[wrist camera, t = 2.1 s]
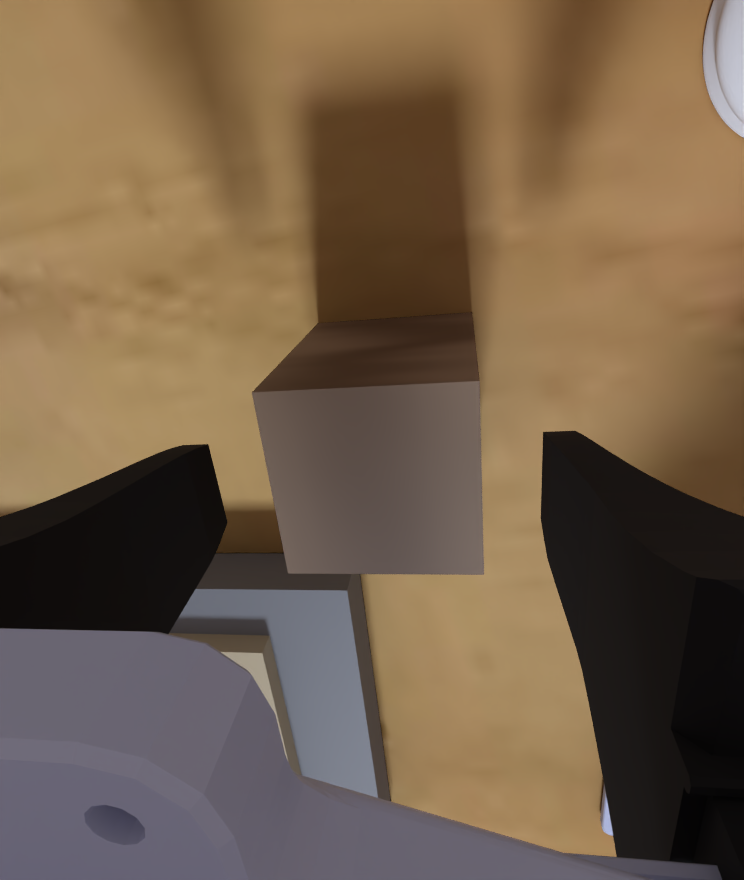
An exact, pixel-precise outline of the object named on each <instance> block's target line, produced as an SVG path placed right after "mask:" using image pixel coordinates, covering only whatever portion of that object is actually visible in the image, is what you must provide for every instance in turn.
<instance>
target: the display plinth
mask: <svg viewBox="0 0 744 880" xmlns="http://www.w3.org/2000/svg"><path fill="white" fill-rule="evenodd" d="M169 635H174V636H178V637H182V638H187V639H191V640H196V641H200V642H204V643H208V644H209V645H211V646H212V647H214V648H215V649H217V650H218V651H220V652H221V653H223V654H224V655H226V656H227V657H228V658H230V659H231V660H233V661H234V662H236V663H237V664H239V665H240V666H242V667H243V668H245V669H246V670H248V671H249V672H250V674H251V675H252V676H253V678H254V679H255V681H256V683H257V684H258V686H259V688H260V689H261V691H262V693H263V694H264V696H265V698H266V699H267V701H268V703H269V704H270V706H271V708H272V709H273V711H274V713H275V715H276V719H277V723H278V727H279V731H280V735H281V739H282V743H283V747H284V751H285V755H286V758H287V760H288V762H289V765H290V767H291V769H292V770H293V771H294V772H295V773H296V774H298V775H301V776H306V777H309V778H312V779H316V780H319V781H323V782H326V783H329V784H333V785H336V786H339V787H343V788H346V789H350V790H353V791H356V792H360V793H363V794H366V795H370V796H373V797H377V798H380V799H383V800H387V801H390V802H391V800H390V793H389V785H388V778H387V771H386V763H385V756H384V748H383V741H382V734H381V726H380V719H379V712H378V704H377V697H376V689H375V682H374V675H373V667H372V660H371V652H370V645H369V638H368V630H367V623H366V615H365V608H364V601H363V593H362V586H361V579H360V574H292V573H288V571H287V566H286V561H285V556H284V553H226V554H215V555H214V558H213V560H212V562H211V563H210V565H209V567H208V569H207V570H206V572H205V574H204V576H203V577H202V579H201V581H200V582H199V584H198V586H197V588H196V589H195V591H194V593H193V594H192V596H191V598H190V599H189V601H188V602H187V604H186V606H185V607H184V609H183V611H182V612H181V614H180V616H179V617H178V619H177V621H176V622H175V624H174V626H173V627H172V629H171V631H170V632H169Z"/></svg>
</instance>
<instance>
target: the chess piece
mask: <svg viewBox="0 0 744 880" xmlns="http://www.w3.org/2000/svg"><path fill="white" fill-rule="evenodd" d="M703 69H704V77H705V82H706V86H707V90H708V93H709V96H710V98H711V101H712V103H713V105H714V107H715V109H716V110H717V112H718V114H719V115H720V117H721V118H722V119H723V121H724V122H725V123H726V124H727V125H728V126H729V127H730V128H731V129H732V130H733V131H735V132H736V133H737V134H738V135H740V136H741V137H743V138H744V0H714V1H713V3H712V7H711V10H710V13H709V16H708V20H707V25H706V30H705V35H704V43H703Z"/></svg>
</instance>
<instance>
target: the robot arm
mask: <svg viewBox="0 0 744 880" xmlns="http://www.w3.org/2000/svg"><path fill="white" fill-rule="evenodd" d="M541 522H542V529H543V535H544V541H545V547H546V552H547V558H548V561H549V565H550V568H551V571H552V574H553V577H554V581H555V584H556V587H557V590H558V593H559V596H560V599H561V602H562V606H563V609H564V612H565V615H566V618H567V621H568V624H569V627H570V630H571V633H572V637H573V640H574V643H575V646H576V649H577V653H578V656H579V660H580V664H581V668H582V672H583V677H584V681H585V686H586V691H587V696H588V701H589V706H590V711H591V716H592V721H593V726H594V732H595V737H596V742H597V748H598V753H599V758H600V764H601V769H602V774H603V780H604V789H603V798H602V808H601V817H600V821H601V825H602V830H603V831H604V832H605V833H607V834H609V835H613V837H614V843H615V849H616V855H617V857H608V856H596V855H584V854H572V853H562V852H559V851H555V850H552V849H549V848H545V847H542V846H539V845H535V844H532V843H528V842H525V841H522V840H518V839H515V838H512V837H508V836H505V835H501V834H498V833H495V832H491V831H488V830H485V829H481V828H478V827H474V826H471V825H468V824H464V823H461V822H458V821H454V820H451V819H447V818H444V817H441V816H437V815H434V814H431V813H427V812H424V811H420V810H417V809H414V808H410V807H407V806H404V805H400V804H397V803H393V802H390V801H387V800H383V799H380V798H377V797H373V796H370V795H366V794H363V793H360V792H356V791H353V790H350V789H346V788H343V787H339V786H336V785H333V784H329V783H326V782H323V781H319V780H316V779H312V778H309V777H306V776H301V775H298V774H296V773H295V772H294V771H293V770H292V769H291V767H290V765H289V762H288V760H287V758H286V755H285V751H284V747H283V743H282V739H281V735H280V731H279V727H278V723H277V719H276V715H275V713H274V711H273V709H272V708H271V706H270V704H269V703H268V701H267V699H266V698H265V696H264V694H263V693H262V691H261V689H260V688H259V686H258V684H257V683H256V681H255V679H254V678H253V676H252V675H251V674H250V672H249V671H248V670H246V669H245V668H243V667H242V666H240V665H239V664H237V663H236V662H234V661H233V660H231V659H230V658H228V657H227V656H226V655H224V654H223V653H221V652H220V651H218V650H217V649H215V648H214V647H212V646H211V645H209V644H208V643H204V642H200V641H196V640H191V639H187V638H182V637H178V636H174V635H169V632H170V631H171V629H172V627H173V626H174V624H175V622H176V621H177V619H178V617H179V616H180V614H181V612H182V611H183V609H184V607H185V606H186V604H187V602H188V601H189V599H190V598H191V596H192V594H193V593H194V591H195V589H196V588H197V586H198V584H199V582H200V581H201V579H202V577H203V576H204V574H205V572H206V570H207V569H208V567H209V565H210V563H211V562H212V560H213V558H214V555H215V553H216V551H217V548H218V546H219V544H220V541H221V538H222V536H223V533H224V530H225V528H226V525H227V519H226V515H225V511H224V506H223V502H222V498H221V494H220V490H219V486H218V482H217V478H216V474H215V470H214V466H213V462H212V458H211V454H210V450H209V446H208V444H204V445H182V446H178V447H174V448H171V449H168V450H165V451H163V452H160V453H158V454H155V455H153V456H150V457H148V458H146V459H143V460H141V461H139V462H137V463H134V464H132V465H130V466H128V467H125V468H123V469H121V470H119V471H117V472H114V473H112V474H110V475H108V476H105V477H103V478H101V479H99V480H96V481H94V482H91V483H89V484H87V485H84V486H82V487H80V488H77V489H75V490H72V491H70V492H68V493H65V494H63V495H61V496H58V497H56V498H53V499H51V500H48V501H45V502H43V503H40V504H37V505H35V506H32V507H29V508H26V509H23V510H20V511H17V512H14V513H11V514H8V515H5V516H2V517H0V880H744V517H743V516H740V515H737V514H734V513H732V512H729V511H726V510H723V509H721V508H718V507H716V506H713V505H711V504H709V503H706V502H704V501H701V500H699V499H697V498H694V497H692V496H689V495H687V494H685V493H683V492H681V491H678V490H676V489H674V488H672V487H670V486H668V485H666V484H665V483H663V482H661V481H659V480H657V479H655V478H653V477H651V476H649V475H647V474H646V473H644V472H642V471H640V470H639V469H637V468H635V467H633V466H632V465H630V464H628V463H627V462H625V461H623V460H622V459H620V458H619V457H617V456H615V455H614V454H612V453H611V452H609V451H607V450H606V449H604V448H603V447H601V446H600V445H598V444H597V443H595V442H593V441H592V440H590V439H589V438H587V437H586V436H584V435H582V434H580V433H578V432H576V431H559V432H543V460H542V497H541Z"/></svg>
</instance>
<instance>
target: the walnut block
mask: <svg viewBox="0 0 744 880" xmlns="http://www.w3.org/2000/svg"><path fill="white" fill-rule="evenodd" d="M252 395H253V400H254V405H255V410H256V415H257V420H258V425H259V430H260V435H261V440H262V445H263V450H264V455H265V460H266V465H267V470H268V475H269V481H270V486H271V491H272V496H273V501H274V506H275V511H276V516H277V521H278V526H279V531H280V536H281V541H282V546H283V551H284V556H285V561H286V566H287V571H288V573H292V574H462V575H484V557H483V514H482V470H481V427H480V383H479V372H478V363H477V354H476V344H475V335H474V326H473V317H472V312H470V313H456V314H442V315H428V316H414V317H400V318H385V319H371V320H357V321H343V322H329V323H318V324H317V325H316V326H315V327H314V328H313V329H312V330H311V331H310V332H309V333H308V334H307V335H306V336H305V338H304V339H303V340H302V341H301V342H300V343H299V344H298V345H297V346H296V347H295V348H294V349H293V350H292V351H291V352H290V353H289V354H288V355H287V356H286V357H285V358H284V359H283V361H282V362H281V363H280V364H279V365H278V366H277V367H276V368H275V369H274V370H273V371H272V372H271V373H270V374H269V375H268V376H267V377H266V378H265V379H264V380H263V381H262V382H261V384H260V385H259V386H258V387H257V388H256V389H255V390H254V391H253V392H252Z"/></svg>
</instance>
